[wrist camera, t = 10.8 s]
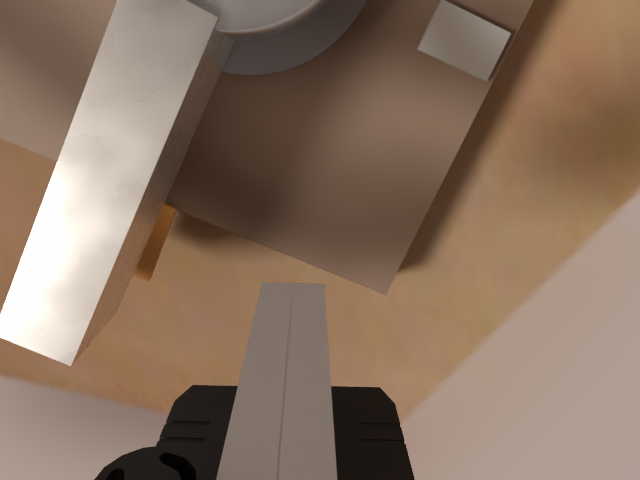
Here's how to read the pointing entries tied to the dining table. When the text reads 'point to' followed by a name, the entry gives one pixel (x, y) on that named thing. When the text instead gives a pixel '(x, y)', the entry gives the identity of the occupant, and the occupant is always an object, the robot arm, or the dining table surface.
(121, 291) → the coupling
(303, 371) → the robot arm
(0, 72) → the mount
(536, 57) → the dining table surface
